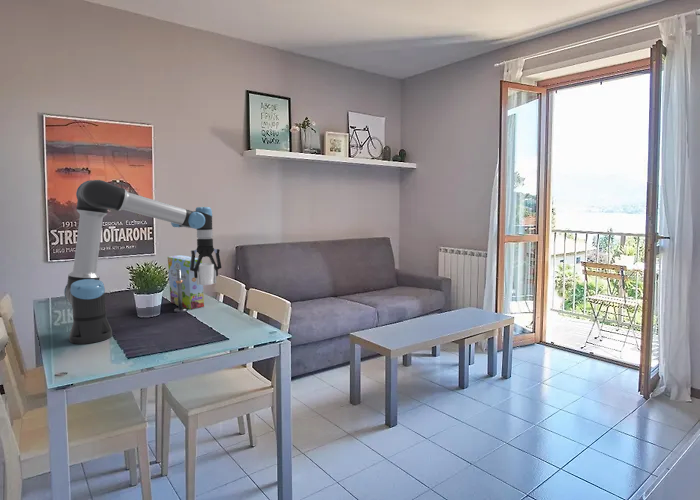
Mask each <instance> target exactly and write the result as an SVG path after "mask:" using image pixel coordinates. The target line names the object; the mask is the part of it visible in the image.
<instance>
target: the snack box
mask: <svg viewBox="0 0 700 500" xmlns="http://www.w3.org/2000/svg"><path fill="white" fill-rule="evenodd" d="M197 260H198V257H195V262H194V268H195V265H196V263H197ZM200 264H203V260H201V262H200ZM190 265H191V256H188V255H184V254H183V255H182V254H180V255H179V254H177V255H171V256H167V269H168V280H169V281H168V282H169V297H170V298H169V299H170V303H171V304H174V305H177V306H178V288H177V283H176V280H177V270H181V280H183V283H182V303H183V308H187V309H189V310H194V309H199V308H203V307H205V298H204V297H205V295H204V285H200V284H199V285H198V284H197V280H196V278H195V277H194V271H192V270H190ZM197 271H198V270H197Z"/></svg>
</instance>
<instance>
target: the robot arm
mask: <svg viewBox="0 0 700 500" xmlns="http://www.w3.org/2000/svg"><path fill="white" fill-rule="evenodd" d="M75 195H76V200H77V201H76V212H77V213H78V214H79V218H78V219H79V220H78V229H77V236H76V245H75V252H74V263H73V269H72V271H71V272H70V273H68V277H67V282H66V286H65V287H64V290H63V291H64V292H63V293H64V297H65V300H66V301H67V302H68V303H69V304H70V305H71V311H72V326H71V328H70V331H69V336H68V338H69V342H70V343H72V344H75V345H76V344H78V345H80V344H81V345H82V344H83V345H84V344H85V345H86V344H93V343H98V342H102V341H106V340H108V339H110V338H112V337H113V330H112V327H111V325H110V323H109V321H108V318H107V308H106V293H105V291H106V288H105V285H104V282H103V281H102V280H100V279H101V278H100V275H99V274H98V273H97V268H98V262H99V261H98V260H99V254H100V253H99V252H100V244H101V236H102V229H103V221H104V217H106V216H107V215H108V211H109V210H113V211H117V212H120V211H122V210H123V211H126V212H127V211H128V212H131V213H134V214H138V215H142V216H146V217H149V218H153V219H157V220H160V221H164V222H167V223H170V224H171V226H172V227H173V228H187V229H195V230H196V237H197V239H196V245H197V247H196V249H195V250H190V254H191V256H190V257H191V265H190V270H192V271H194V277H195V278H196V280H197V284H198V285H199V271H197V270H198V268H199V265H200V262H201V260H202V259H203V258H206V257H207V258H209V260H210V262H211V263H212V264H214V283H213V284H217V277H219V269H222V262H221V258H220V251H221V250H220V249H219V248H214V239H213V237H214V235H213V234H214V233H213V231H214V230H213V210H212V208H211V207H209V206H197V207H196V208H195V210H193V211H192V210H190V209H186V208H183V207H180V206H177V205H174V204H169V203H166V202H162V201H160V200H156V199H153V198H148V197H145V196H142V195H139V194H135V193H132V192H129V191H127V189H126V188H124V187H121V186H117V185H115V184H112V183H110V182H107V181H105V180H101V179H93V180H92V179H91V180H86V181H83V182H82V183H81V184H80V185H79V186H78V188H77V189H76V192H75ZM213 253H215V258H216V261H215V259H214V256H213ZM196 254H198V257H197V258H198V260H197V263H196V265H195V268H194V262H195V258H196ZM202 261H203V260H202ZM216 263H217V264H216Z"/></svg>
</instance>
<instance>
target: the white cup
mask: <svg viewBox="0 0 700 500" xmlns="http://www.w3.org/2000/svg"><path fill="white" fill-rule="evenodd" d="M214 270H215V269H214V264H212V262H211V263H209V262H206V263H205V262H204V263H203V262H202V264H200V265H199V268H198V271H199V284H200V285H203V286H210V285H213V284H215V283H214Z"/></svg>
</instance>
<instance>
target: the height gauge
mask: <svg viewBox="0 0 700 500" xmlns="http://www.w3.org/2000/svg"><path fill="white" fill-rule="evenodd" d="M176 283H177V288H178V305H177V306H178V308H177V307H176V308H174V313H177V312H178V313H185V312H188V308H186V307H183V303H182V283H183V280H181V270H177V280H176Z"/></svg>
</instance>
